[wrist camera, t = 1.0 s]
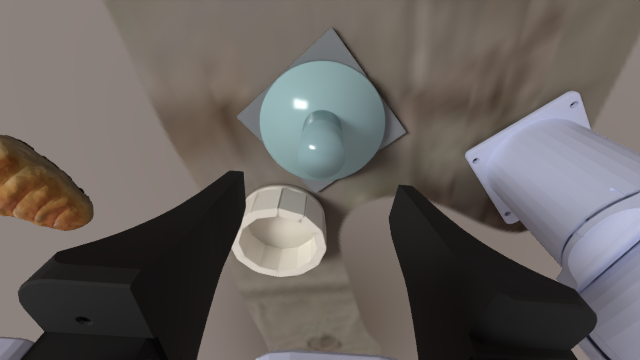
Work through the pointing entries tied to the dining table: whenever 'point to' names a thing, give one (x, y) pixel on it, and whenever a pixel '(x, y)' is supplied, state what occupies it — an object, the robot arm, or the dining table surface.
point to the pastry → (39, 189)
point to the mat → (322, 50)
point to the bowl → (281, 231)
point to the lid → (322, 120)
